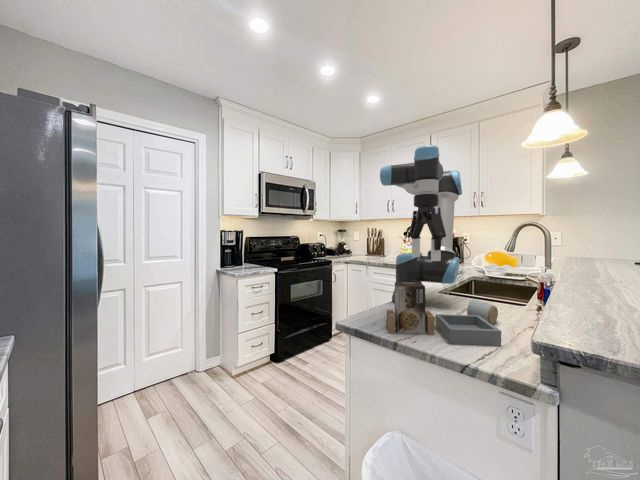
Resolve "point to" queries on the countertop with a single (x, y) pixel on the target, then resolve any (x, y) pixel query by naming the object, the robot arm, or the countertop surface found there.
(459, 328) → the tray
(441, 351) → the countertop surface
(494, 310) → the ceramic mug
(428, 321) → the wooden blocks
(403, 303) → the coffee box
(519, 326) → the countertop surface
